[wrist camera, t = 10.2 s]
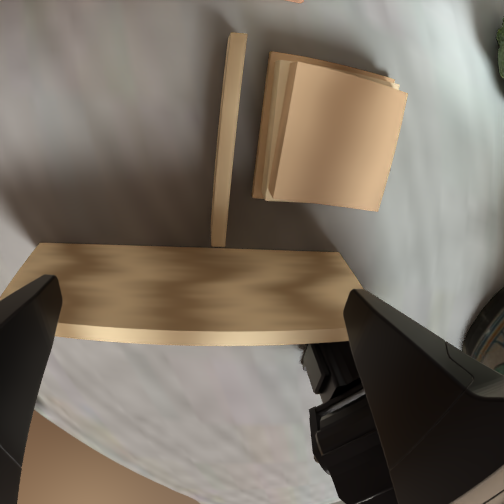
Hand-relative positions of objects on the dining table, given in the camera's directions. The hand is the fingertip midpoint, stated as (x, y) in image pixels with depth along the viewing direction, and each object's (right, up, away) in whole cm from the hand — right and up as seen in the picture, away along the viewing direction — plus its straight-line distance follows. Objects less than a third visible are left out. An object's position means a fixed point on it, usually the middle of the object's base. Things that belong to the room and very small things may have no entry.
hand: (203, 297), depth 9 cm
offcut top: (+6, +8, +8) cm, 12 cm away
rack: (-2, +7, +9) cm, 12 cm away
